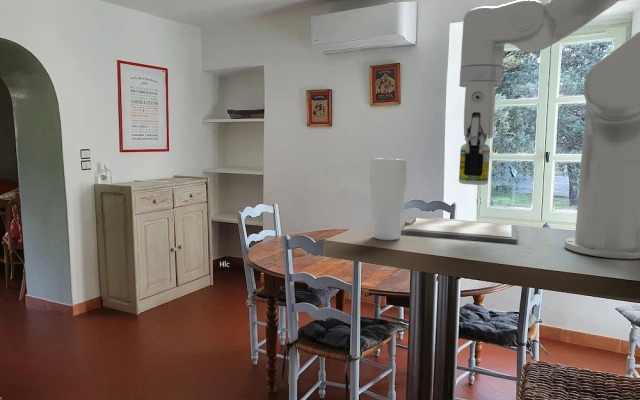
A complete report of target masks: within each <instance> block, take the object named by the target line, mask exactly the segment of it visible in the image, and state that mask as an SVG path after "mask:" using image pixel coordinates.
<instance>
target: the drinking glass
mask: <svg viewBox="0 0 640 400" xmlns="http://www.w3.org/2000/svg"><path fill="white" fill-rule="evenodd" d="M369 171H370V172H369V176H370V177H369V182H370V183H369V185H370V200H371V216H372V217H371V218H372V220H371V221H372V236H373V238H374V239H376V240H381V241H396V240H399V239H400V238H401V236H402V234H401V227H402V226H403V225H402V223H403V214H404V206H405V198H406V189H407V180H408V160H407V158H398V157H397V158H394V157H393V158H392V157H390V158H389V157H378V158H377V157H375V158H374V157H373V158H371V159H370V167H369Z"/></svg>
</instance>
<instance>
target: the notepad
mask: <svg viewBox="0 0 640 400" xmlns="http://www.w3.org/2000/svg"><path fill="white" fill-rule="evenodd" d="M401 235H406V236H407V235H408V236H416V237H417V236H418V237H419V236H420V237H429V238H431V237H432V238H443V239H444V238H445V239H452V240H453V239H454V240H456V239H457V240H464V241H465V240H467V241H478V242H479V241H480V242H491V243H501V244H515V245H517V244H518V230H517V225H516V224H504V223H492V222H491V223H489V222H477V221H476V222H475V221H463V220H462V221H461V220H448V219H447V220H446V219H433V218H419V217H410V218H409V219H407V220H406V221H405V222H404V224H403V225H401Z"/></svg>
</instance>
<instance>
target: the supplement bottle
mask: <svg viewBox="0 0 640 400" xmlns="http://www.w3.org/2000/svg"><path fill="white" fill-rule="evenodd" d="M470 135H471V134H470ZM467 137H468V134H467ZM478 137H481V135H478ZM487 140H488V135H485V134H484V136H483V148H482V154H483V169H482V175H481V176H470V175H465V174H464V166H465V154H466V150H467V138H466V137H465V136H464V141H465V143H464V144H462V145H461V147H460V151H459V152H460V153H459V156H460V158H459V171H458V172H459V173H458V174H459V175H458V182H459V184H463V185H472V186H475V185H476V186H484V185H487V184H488V183H489V171H490V155H491V147H490V146H489V145H488V144H486V142H487Z"/></svg>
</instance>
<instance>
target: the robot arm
mask: <svg viewBox="0 0 640 400" xmlns="http://www.w3.org/2000/svg"><path fill="white" fill-rule="evenodd" d="M619 1H620V0H549V1H548V2H546V3H545V4H544V3H543V2H542V1H540V0H516V1H512V2H508V3H506V4H505V3H504V4H501V5H498V6H479V7H474V8H472V9H469V10H468V11H467V12H466V13H465V14H464V17H463V22H462V37H461V38H462V39H461V51H460V55H461V56H460V73H459V85H458V86H459V87H461V88H465V91H464V109H463V135H464V138H465V137H466V138H467V150H466V154H465V166H464V174H465V175H470V176H481V175H482V169H483V154H482V148H483V136H484V134H485V135H487V140H489V139H490V140H491V139H492V138H493V137H494V124H495V123H494V121H495V108H496V106H495V105H496V88H499V87H502V80H503V67H504V66H503V65H504V53H505V45H506V44H508V45H512V46H515V47H516V48H517V49H519V50H520V51H522V52H525V53H536V52H540V51H543V50H545V49H548V48H549V47H550V46H552V45H554V44H556V43H558V42H560V41H561V40H562V39H565V38H566V37H568V36H570V35H572V34H573V33H574V32H577V31H578V30H579V29H581V28H583V27H584V26H586V25H587V24H589V23H590V22H592V21H593V20H594V19H596V18H597V17H598V16H600V15H601V14H602V13H604V12H605V11H607V10H608V9H610V8H612V7H613V6H614V5H615V4H617V3H618V2H619ZM583 94H584V99H585V116H584V123H583V124H584V126H583V137H582V146H581V147H582V148H581V158H580V172H579V173H580V174H579V183H578V195H577V209H576V219H575V220H576V221H575V222H576V223H575V233H574V234H575V235H574V237H569V238H566V239H565V240H564V245H563V246H564V248H566V249H567V250H570V251H572V252H575V253H577V254H583V255H588V256H593V257H601V258H608V259H616V260H617V259H621V260H639V259H640V30H638V31H637V32H635V33H634V34H632V36H630V37H628V38H627V39H626V40H625V41H623V42H622V43H621V44H620V45H618V46H617V47H615V48H614V49H612V50H611V51H610V52H609V53H607V54H605V56H603V57H602V58H600V59H599V60H598V61H597V62H596V63H595V64H593V66H592V67H591V68H590V70H589V72H588V73H587V75H586V77H585V79H584V83H583ZM467 134H468V137H467ZM470 134H471V135H470ZM478 135H481V137H478Z"/></svg>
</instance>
